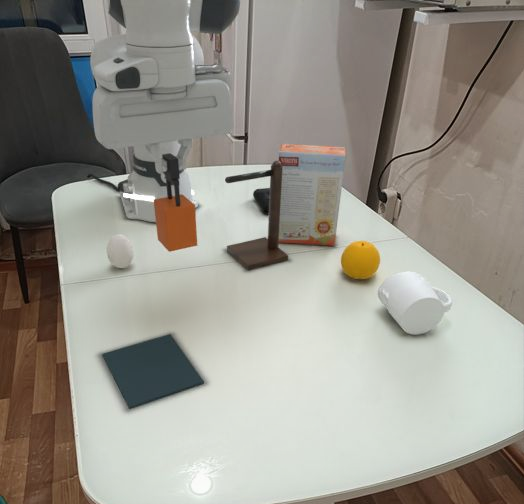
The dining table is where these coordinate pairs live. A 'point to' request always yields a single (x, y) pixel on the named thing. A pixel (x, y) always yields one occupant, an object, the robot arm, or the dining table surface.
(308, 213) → the cracker box
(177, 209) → the tall orange prism
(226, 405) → the dining table surface
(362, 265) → the orange round ball
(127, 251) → the egg
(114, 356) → the mat
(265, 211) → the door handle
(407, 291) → the mug
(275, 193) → the hook stand
